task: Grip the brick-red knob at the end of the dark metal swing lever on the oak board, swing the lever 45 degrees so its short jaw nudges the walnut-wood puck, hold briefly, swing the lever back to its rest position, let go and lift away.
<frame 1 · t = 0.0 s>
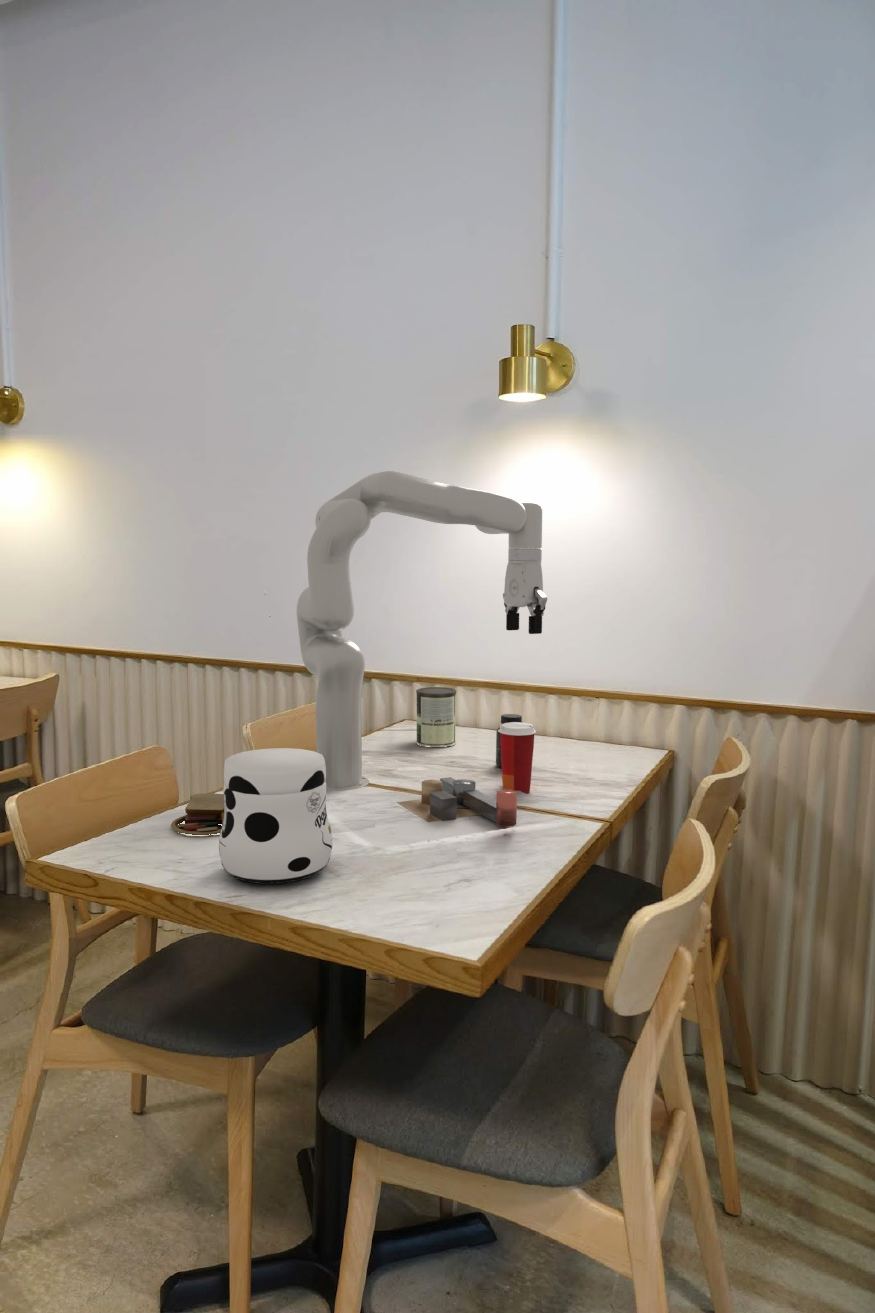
hand: (523, 631, 205), 31 cm above the table, tool pointing down, fingers open, 9 cm apart
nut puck: (431, 802, 175), point 1 cm above the table, touching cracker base
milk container: (276, 873, 140), on the table
coffee can: (435, 744, 231), on the table
lever: (476, 792, 168), point 5 cm above the table, hinge at 0.0°
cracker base: (463, 809, 173), on the table
paper cup: (516, 792, 187), on the table
toy sandwich meal: (205, 828, 162), on the table
supplement bottle: (510, 767, 208), on the table
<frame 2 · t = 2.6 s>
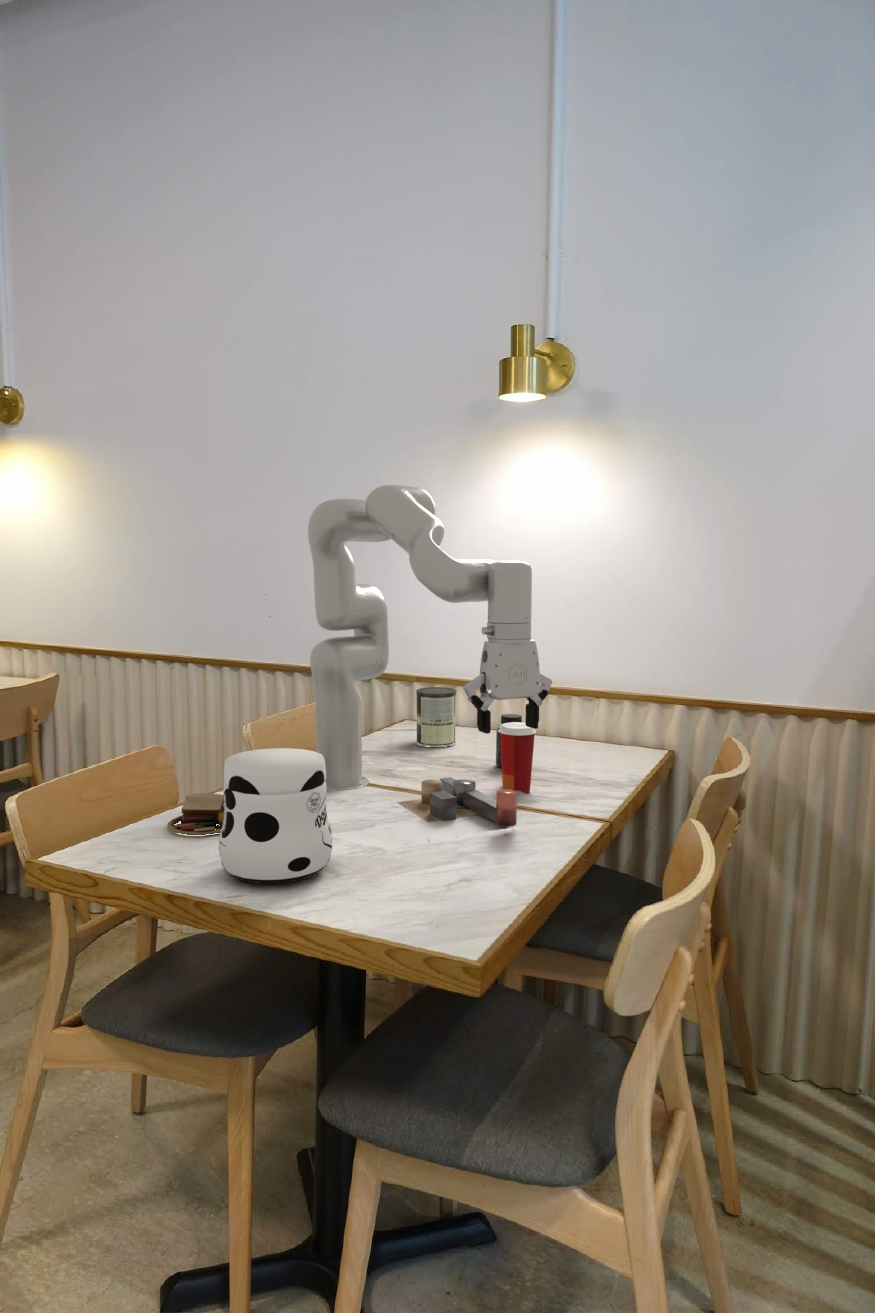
hand: (508, 729, 157), 19 cm above the table, tool pointing down, fingers open, 9 cm apart
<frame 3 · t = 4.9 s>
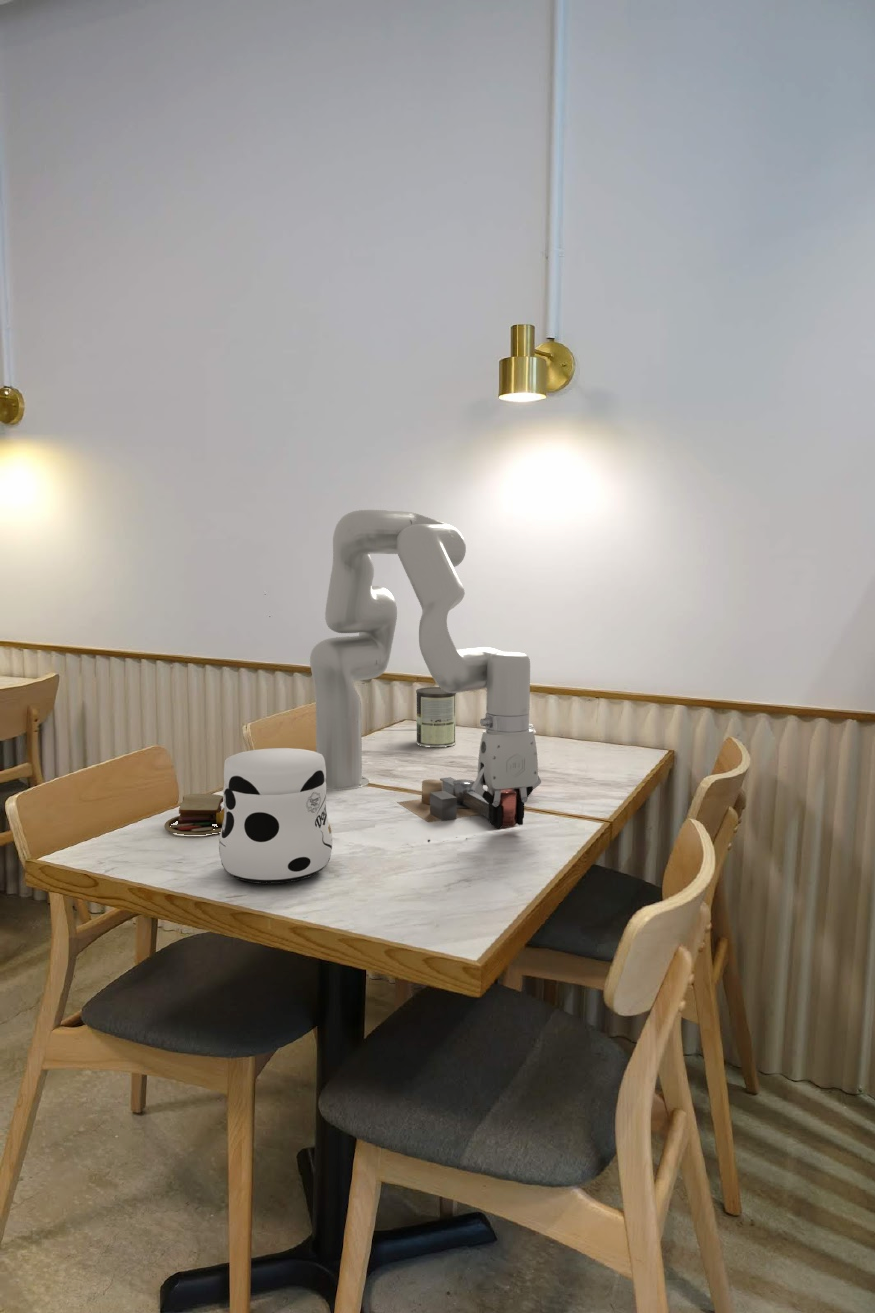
hand: (506, 823, 159), 2 cm above the table, tool pointing down, fingers closed on lever, 3 cm apart
lever: (476, 792, 168), point 5 cm above the table, hinge at 0.0°, touching gripper
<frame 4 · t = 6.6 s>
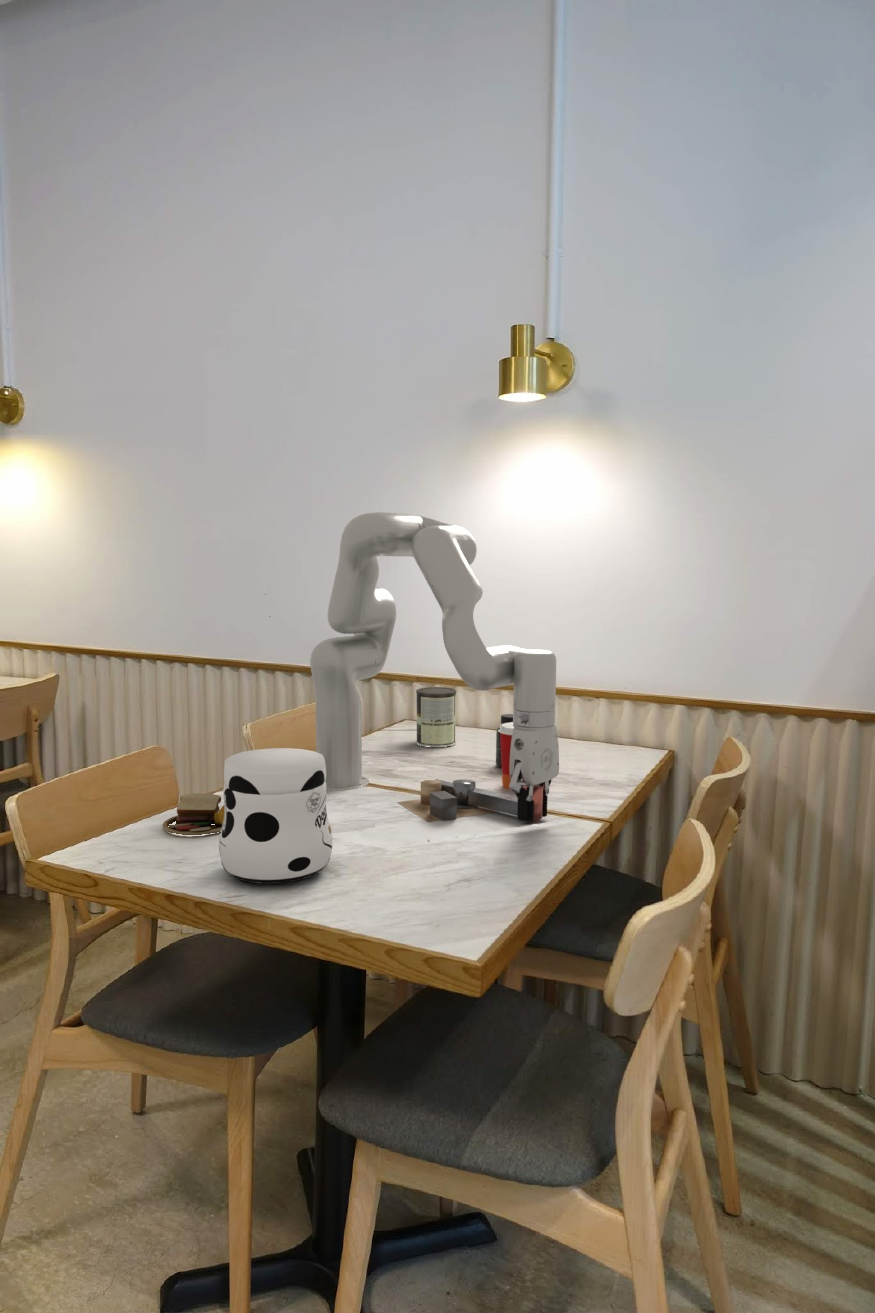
hand: (532, 817, 163), 2 cm above the table, tool pointing down, fingers closed on lever, 3 cm apart
lever: (484, 790, 170), point 5 cm above the table, hinge at 23.2°, touching gripper
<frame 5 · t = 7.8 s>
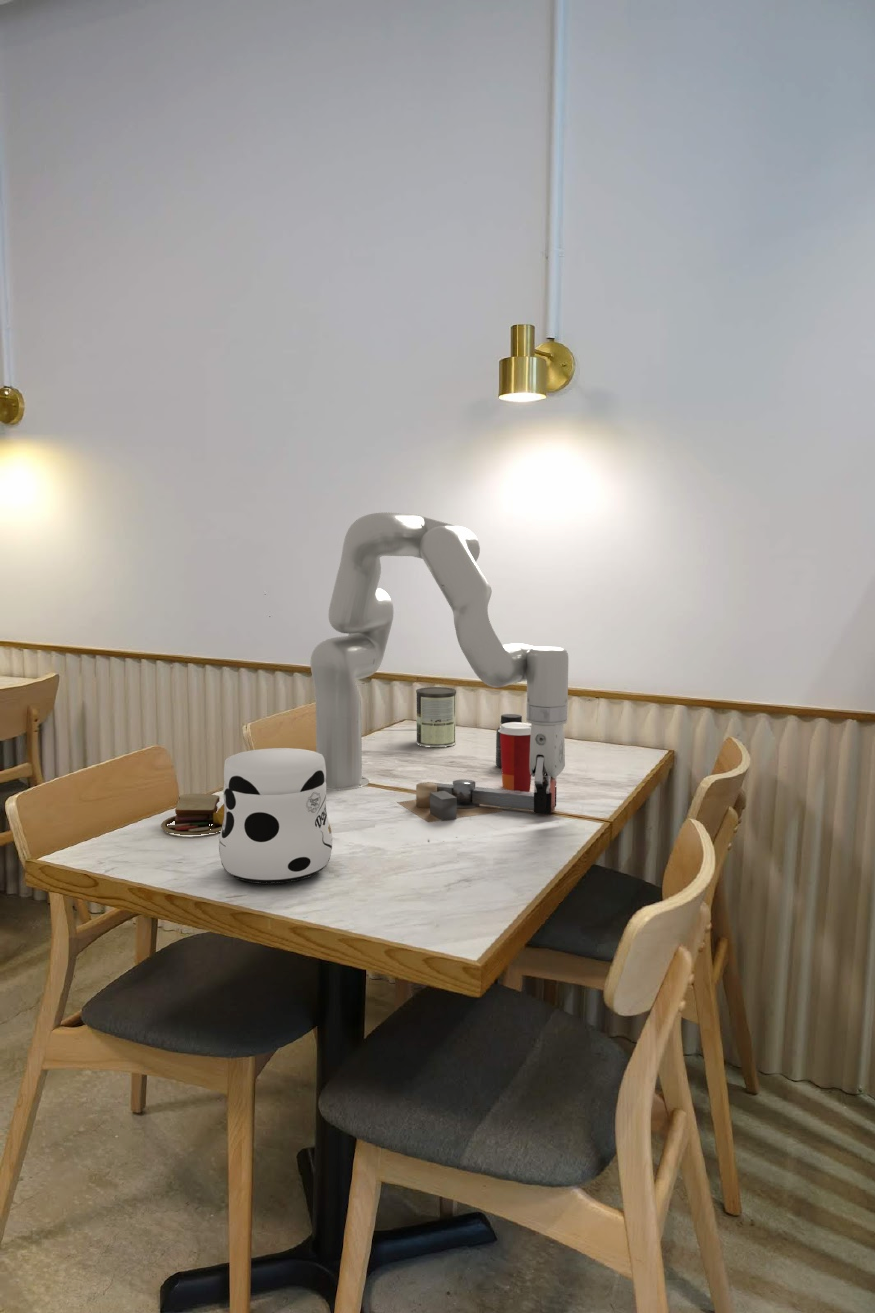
hand: (545, 809, 168), 2 cm above the table, tool pointing down, fingers closed on lever, 3 cm apart
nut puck: (426, 805, 172), point 1 cm above the table, touching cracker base, lever
lever: (488, 788, 171), point 5 cm above the table, hinge at 43.6°, touching gripper, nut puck
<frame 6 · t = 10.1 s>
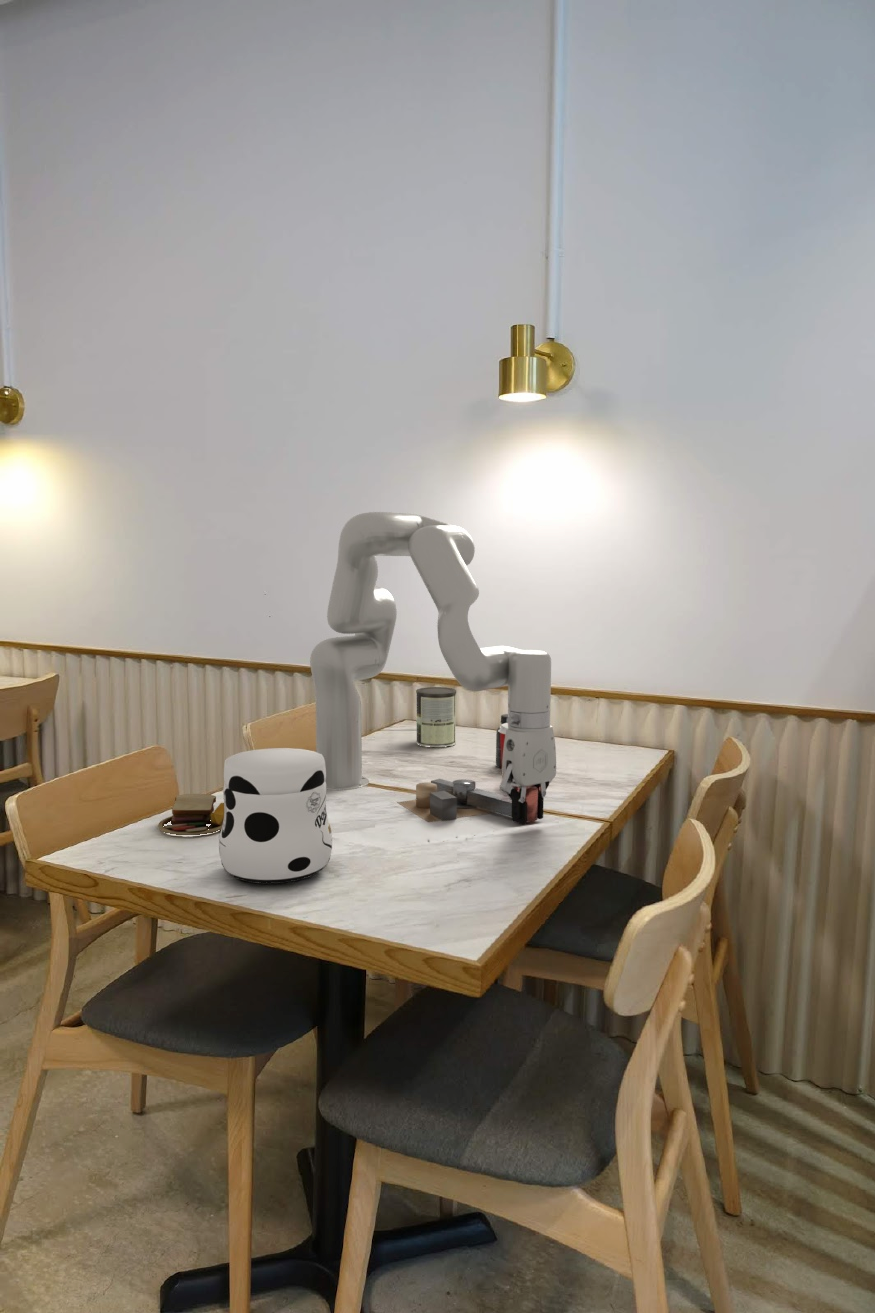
hand: (527, 818, 162), 2 cm above the table, tool pointing down, fingers closed on lever, 3 cm apart
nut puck: (426, 805, 172), point 1 cm above the table, touching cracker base
lever: (482, 791, 169), point 5 cm above the table, hinge at 17.8°, touching gripper
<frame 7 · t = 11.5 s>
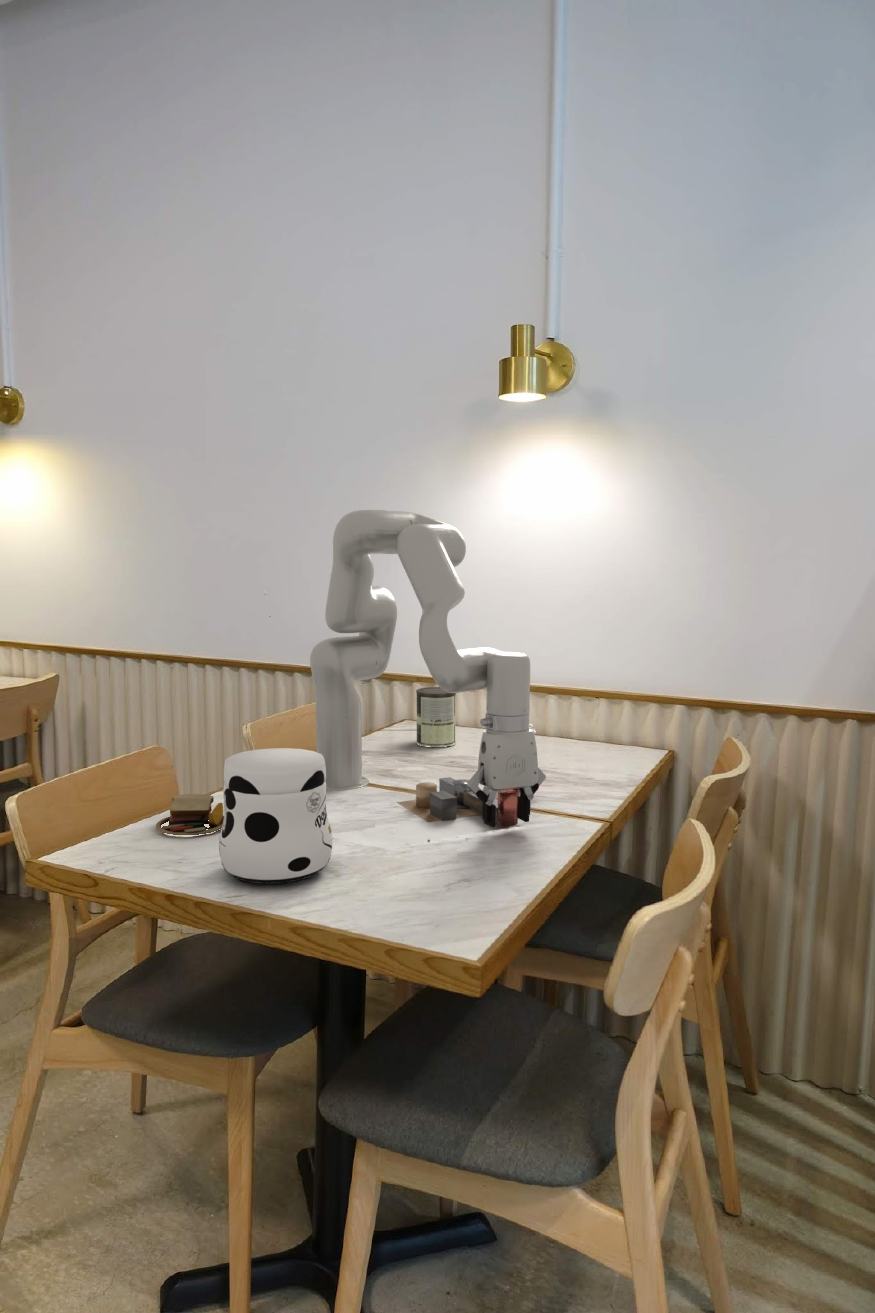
hand: (506, 821, 159), 2 cm above the table, tool pointing down, fingers open, 6 cm apart
lever: (476, 792, 168), point 5 cm above the table, hinge at 1.0°
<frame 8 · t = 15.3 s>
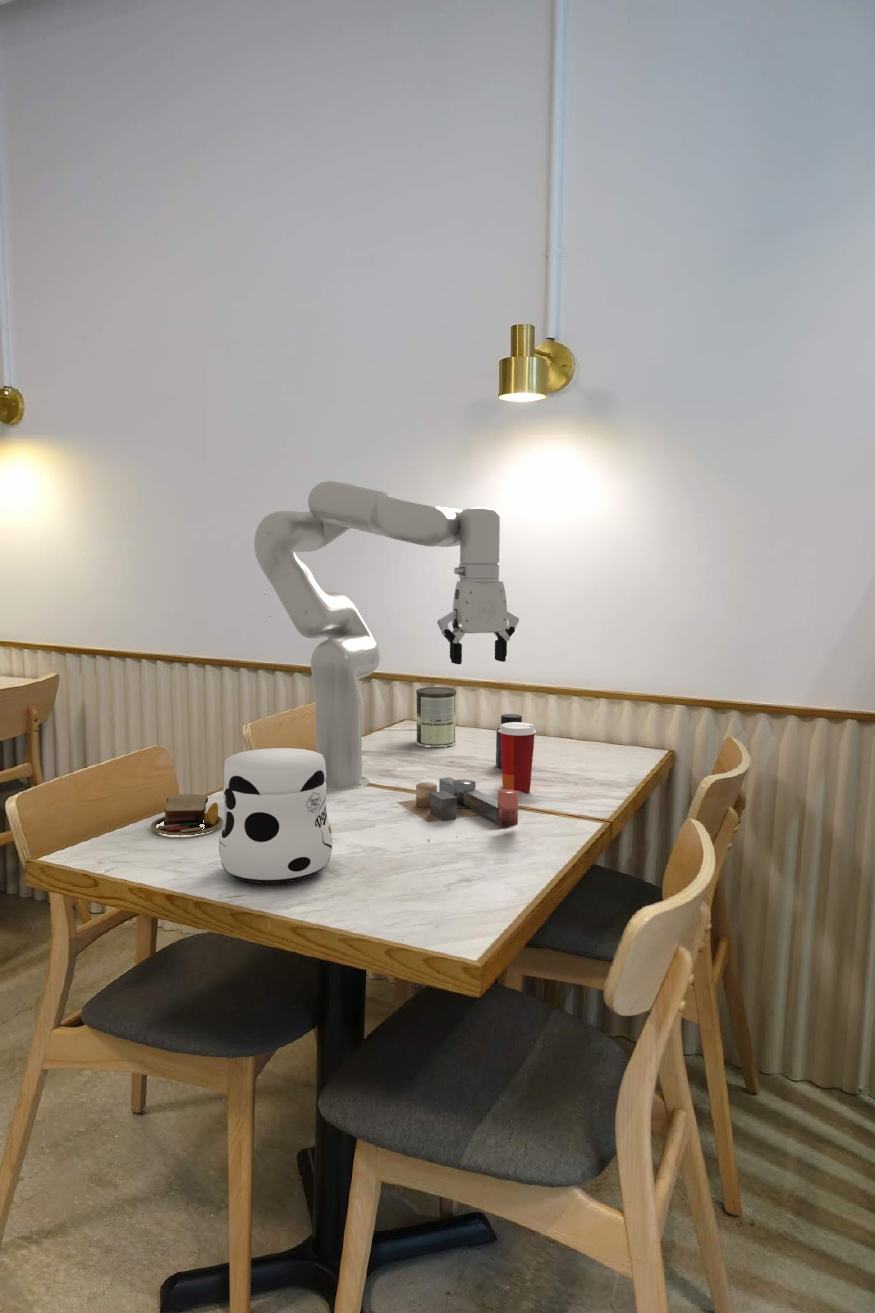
hand: (478, 662, 173), 28 cm above the table, tool pointing down, fingers open, 9 cm apart
at the end: lever at +1° (first picture: +0°); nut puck moved 2.6 cm from its start; the gripper is holding nothing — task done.
